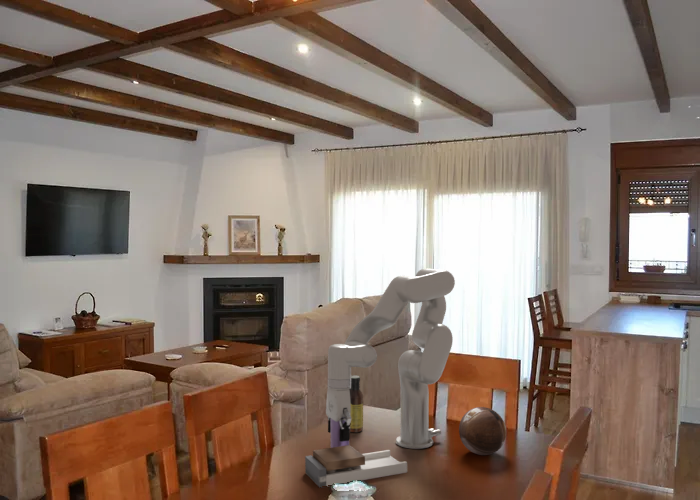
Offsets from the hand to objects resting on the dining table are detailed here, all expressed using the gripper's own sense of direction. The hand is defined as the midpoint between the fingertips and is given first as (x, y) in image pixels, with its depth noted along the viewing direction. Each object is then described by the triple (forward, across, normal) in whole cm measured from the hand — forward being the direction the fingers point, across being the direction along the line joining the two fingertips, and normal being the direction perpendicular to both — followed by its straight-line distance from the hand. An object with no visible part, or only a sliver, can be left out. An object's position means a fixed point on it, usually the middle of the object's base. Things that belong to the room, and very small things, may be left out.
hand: (338, 436), depth 201 cm
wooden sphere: (+6, +17, +44) cm, 47 cm away
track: (+6, +15, 0) cm, 16 cm away
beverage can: (+7, 0, +1) cm, 7 cm away
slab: (+5, +15, -6) cm, 17 cm away
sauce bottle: (+6, -22, +16) cm, 28 cm away
